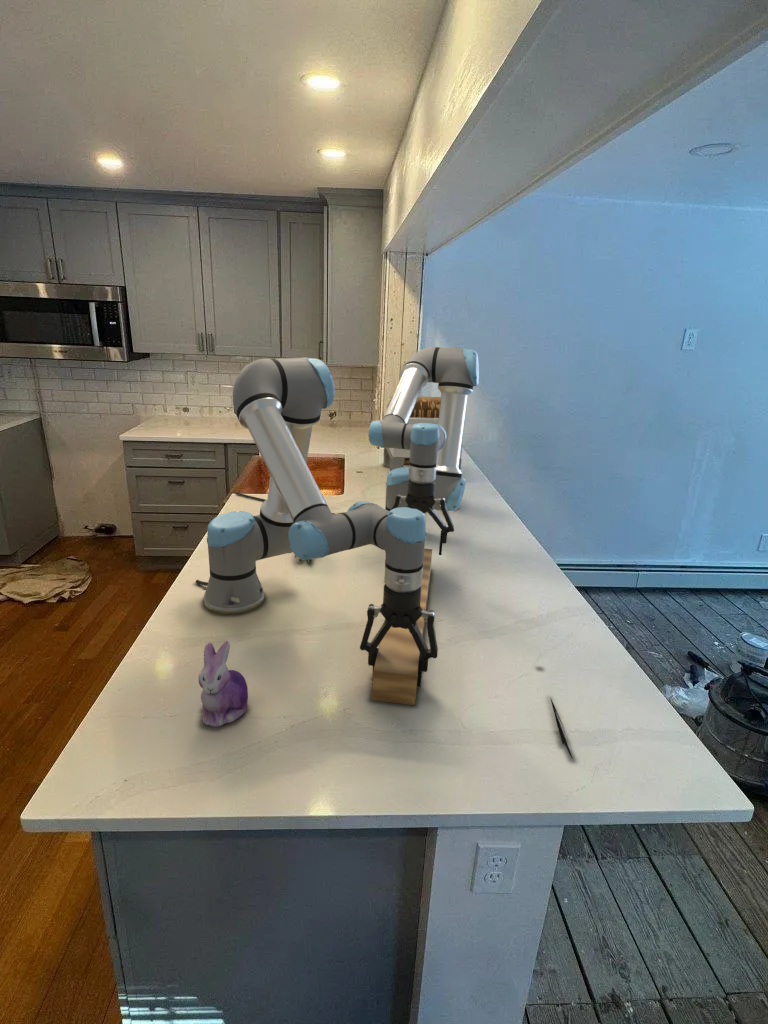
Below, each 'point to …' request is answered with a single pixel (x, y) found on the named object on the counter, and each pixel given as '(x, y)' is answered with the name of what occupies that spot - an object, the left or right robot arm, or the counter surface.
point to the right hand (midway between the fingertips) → (416, 551)
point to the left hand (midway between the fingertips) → (396, 680)
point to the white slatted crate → (422, 413)
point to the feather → (560, 728)
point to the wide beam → (401, 655)
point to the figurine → (221, 688)
